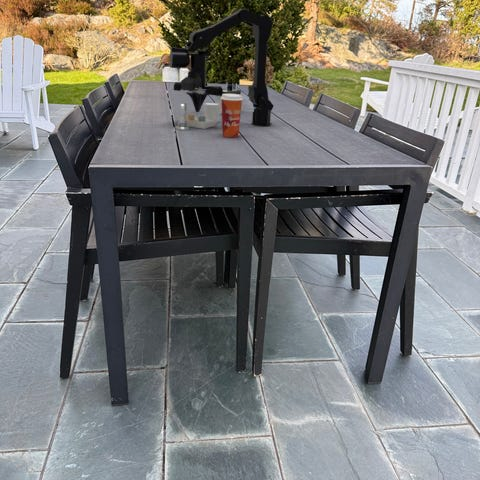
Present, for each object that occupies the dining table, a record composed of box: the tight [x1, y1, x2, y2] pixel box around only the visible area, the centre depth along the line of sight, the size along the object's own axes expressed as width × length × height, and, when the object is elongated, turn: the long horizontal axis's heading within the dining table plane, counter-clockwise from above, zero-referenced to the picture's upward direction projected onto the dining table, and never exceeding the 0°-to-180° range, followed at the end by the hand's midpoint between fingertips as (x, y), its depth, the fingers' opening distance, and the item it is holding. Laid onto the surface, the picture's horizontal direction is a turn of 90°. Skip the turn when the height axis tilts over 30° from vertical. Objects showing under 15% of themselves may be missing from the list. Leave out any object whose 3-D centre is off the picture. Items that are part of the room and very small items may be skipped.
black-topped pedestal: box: [214, 82, 242, 115], centre depth 200 cm, size 28×26×13 cm
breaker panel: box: [187, 114, 216, 130], centre depth 170 cm, size 12×8×4 cm, turn 62°
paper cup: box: [221, 94, 244, 138], centre depth 153 cm, size 8×8×14 cm
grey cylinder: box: [203, 102, 220, 124], centre depth 179 cm, size 7×7×7 cm
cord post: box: [175, 102, 190, 131], centre depth 161 cm, size 5×5×9 cm
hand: (197, 111), depth 168 cm, fingers closed
